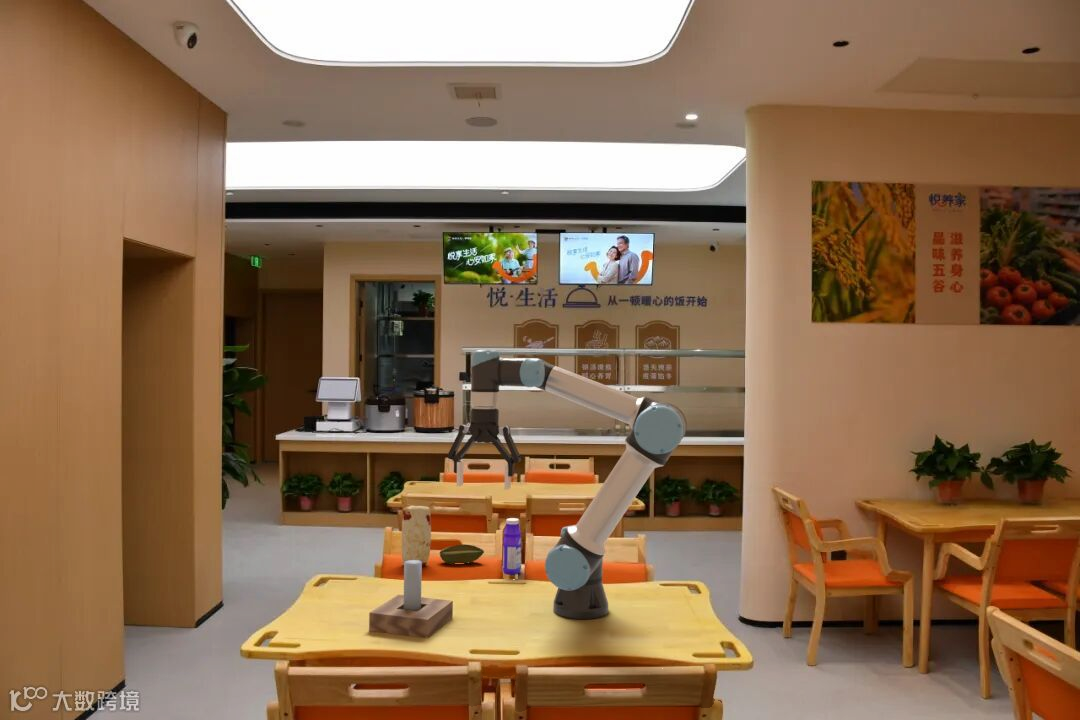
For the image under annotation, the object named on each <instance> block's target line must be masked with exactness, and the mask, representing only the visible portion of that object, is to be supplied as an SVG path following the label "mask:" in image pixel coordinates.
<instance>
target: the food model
mask: <svg viewBox="0 0 1080 720" xmlns="http://www.w3.org/2000/svg"><path fill="white" fill-rule="evenodd" d="M431 521H432V518H431V508H430V507H428V506H426V505H425V506H424V505H410V506H406V507H404V508H403V509H402V523H401V563H402V564H404V562H405V561H409V560H419V561H421V562H422V567H423V566H426V565H427V564H428V562H429V558H430V554H431V545H432V544H431V543H432V523H431Z"/></svg>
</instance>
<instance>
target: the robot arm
mask: <svg viewBox="0 0 1080 720" xmlns="http://www.w3.org/2000/svg"><path fill="white" fill-rule="evenodd" d="M470 371H471V372H470V373H471V374H470V375H471V376H470V385H471V386H470V407H472V408H471V409H470V419H469V420H470V423H469V424H470V425H466V424H460V425H459V426H458V433H457V434H456V437H455V439H454V440H453V441H454V442H453V443H452V445H451V447H450V449H449V451H448V454H447V456H446V457H447V459H449V460H452V461H453V473H454V474H456V487H460V486H463V485H464V460H462V458H463V457H464V456H465V455H466V454H467V452H469V450H470V449H471V448H472V446H474V444H475V443H476V442H477V443H478V444H479V443H480V444H481V443H484V444H492V445H493V446H494V447H495V448H496V449H497V451H498V452H499V453H500V455H501V456H502V458H503V459H504V460H505V462H506V463H505V464H504V490H509V489H511V481H512V480H511V478H512V477H514V475H515V464H517V463H519V462H521V461H522V456H521V454H520V452H519V450H518V448H517V446H516V443H515V442H514V439H513V438H512V437H513V436H512V435H511V427H510V426H509V425H508V426H503V427H500V426H499V422H500V421H499V419H500V418H499V415H500V413H499V411H500V410H499V408H498V407H499V406H500V387H526V388H533V387H534V388H536V389H537V388H538V389H540V390H542V391H545V392H548V393H550V394H553V395H555V396H558V397H560V398H563V399H566V400H568V401H570V402H573V403H574V404H578V405H579V406H583V407H585V408H587V409H589V410H593V411H595V412H598V413H600V414H603V415H604V416H608V417H610V418H613V419H615V420H618V421H620V422H622V423H624V424H628V425H629V427H630V429H631V430H630V432H629V433H628V435H627V436H626V437H625V439H624V444H625V450H624V452H623V453H622V454H621V456H620V457H619V459H618V460H617V462H616V464H615V465H614V467H613V469H612V470H611V471H610V473H609V474H608V476H607V477H606V479H605V480H604V482H603V484H602V485H601V487H600V488H599V490H598V491H597V493H596V494H595V496H594V497H593V499H592V501H591V502H590V504H589V505H588V507H587V508H586V510H585V511H584V513H583V514H582V515H581V517H580V519H579V520H578V521H577V523H576V524H573V525H567V526H563V527H562V528H561V531H560V535H559V537H560V538H559V540H558V541H557V543H556V544H555V546H554V547H553V548H552V549H550V551H548V553H547V555H546V558H545V562H544V570H545V574H546V576H547V578H548V579H549V581H550V583H551V584H552V585H554V586H555V587H556V588H557V590H556V593H555V597H554V600H553V604H552V605H553V610H552V611H553V612H554V613H555V614H556V615H558V616H561V617H563V618H569V619H575V620H591V619H592V620H593V619H599V618H602V617H604V616H606V615H608V613H609V602H608V598H607V594H606V591H605V587H604V585H603V570H604V569H603V568H604V567H603V565H604V563H603V562H604V561H603V560H604V556H605V554H606V553H607V551H606V546H605V544H606V542H607V540H608V539H609V537H610V536H611V535H612V533H613V531H614V530H615V529H616V527H617V526H618V524H619V523H620V520H622V518H623V516H624V514H625V513H626V512H627V511H628V509H629V508H630V506H631V504H632V503H633V501H634V500H635V499H636V497H637V495H638V494H639V492H640V491H641V490H642V488H643V487H644V485H645V483H646V482H647V480H648V479H649V478H650V476H651V474H652V473H653V472H654V470H655V469H657V468H660V467H664V466H665V465H666V463H667V462H668V460H669V458H670V457H671V456H672V454H673V453H674V451H675V450H676V448H677V447H678V446H679V444H680V443H681V442H682V440H683V438H684V437H685V435H686V433H687V429H688V424H687V419H686V416H685V414H684V412H683V410H681V409H680V408H679V407H678V406H677V405H675V404H672V403H668V402H664V401H659V400H656V399H653V398H650V397H647V396H642V397H637V396H633V395H632V394H629V393H626V392H624V391H623V390H622V391H621V390H619V389H616V388H613V387H611V386H608V385H606V384H604V383H601V382H599V381H596V380H593V379H591V378H588V377H586V376H583V375H581V374H577V373H575V372H572V371H570V370H567V369H564V368H562V367H560V366H556V365H553V364H551V363H549V362H547V361H545V360H544V359H541V358H539V357H508V358H507V357H501V353H500V351H499V350H493V349H492V350H489V349H487V350H485V349H478V350H474V351H473V352H472V355H471V366H470ZM468 432H469V433H470V437H469V439H467V441H466V443H464V445H463V446H462V447H461V448H460V446H461V444H462V443H463V440H464V438H465V436H466V434H467V433H468ZM500 433H501V436H503V439H504V440H505V443H506V445H507V447H508V449H507V448H506V447H505V445H504V444H503V443H502V442H501V439H500V438H499V436H498V435H499V434H500ZM459 448H460V449H459ZM458 450H459V451H458ZM508 450H509V451H508Z"/></svg>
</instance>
